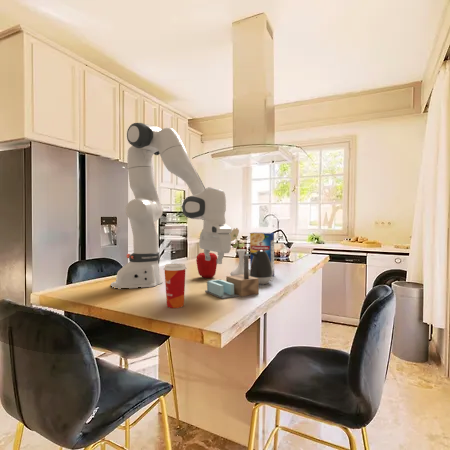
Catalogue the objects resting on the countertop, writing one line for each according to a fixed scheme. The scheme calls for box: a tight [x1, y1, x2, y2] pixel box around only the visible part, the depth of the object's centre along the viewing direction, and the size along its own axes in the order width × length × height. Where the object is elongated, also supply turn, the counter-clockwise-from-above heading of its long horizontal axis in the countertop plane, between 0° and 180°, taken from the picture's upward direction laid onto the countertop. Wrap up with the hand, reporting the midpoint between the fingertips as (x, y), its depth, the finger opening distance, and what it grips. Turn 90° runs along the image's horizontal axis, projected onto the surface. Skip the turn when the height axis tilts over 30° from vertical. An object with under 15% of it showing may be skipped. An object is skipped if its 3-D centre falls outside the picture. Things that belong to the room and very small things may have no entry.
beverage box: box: [249, 232, 275, 277], centre depth 163 cm, size 7×11×22 cm, turn 67°
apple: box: [195, 252, 218, 279], centre depth 158 cm, size 10×10×14 cm
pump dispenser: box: [249, 250, 273, 285], centre depth 143 cm, size 10×10×15 cm
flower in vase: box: [229, 227, 250, 276], centre depth 157 cm, size 13×11×25 cm
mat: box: [204, 289, 240, 300], centre depth 123 cm, size 7×14×1 cm, turn 31°
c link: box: [206, 279, 234, 297], centre depth 123 cm, size 11×6×4 cm, turn 29°
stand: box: [225, 254, 260, 297], centre depth 125 cm, size 8×11×15 cm
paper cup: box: [163, 263, 187, 309], centre depth 107 cm, size 8×8×14 cm
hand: (213, 262), depth 127 cm, fingers open, 8 cm apart
